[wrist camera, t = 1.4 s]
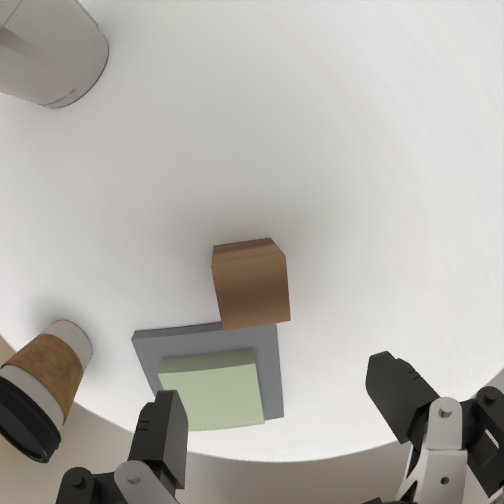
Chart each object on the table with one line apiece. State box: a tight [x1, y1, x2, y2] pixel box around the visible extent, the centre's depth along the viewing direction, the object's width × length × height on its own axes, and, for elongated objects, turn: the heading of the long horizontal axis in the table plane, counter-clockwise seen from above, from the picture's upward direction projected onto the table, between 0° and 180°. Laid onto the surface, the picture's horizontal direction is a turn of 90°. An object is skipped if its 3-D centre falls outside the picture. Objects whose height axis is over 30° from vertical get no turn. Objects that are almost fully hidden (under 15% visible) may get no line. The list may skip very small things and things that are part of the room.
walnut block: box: [211, 238, 290, 331], centre depth 22 cm, size 5×5×6 cm
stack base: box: [131, 322, 284, 431], centre depth 26 cm, size 14×14×4 cm
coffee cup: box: [0, 320, 92, 463], centre depth 18 cm, size 8×8×15 cm
